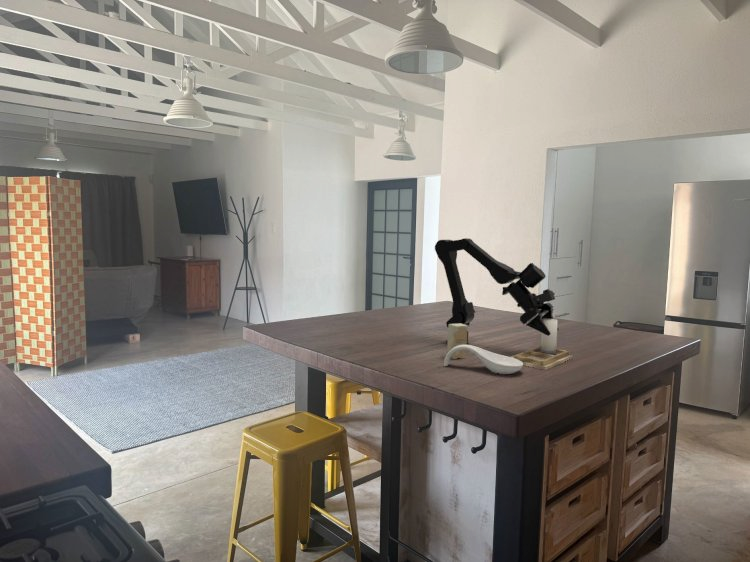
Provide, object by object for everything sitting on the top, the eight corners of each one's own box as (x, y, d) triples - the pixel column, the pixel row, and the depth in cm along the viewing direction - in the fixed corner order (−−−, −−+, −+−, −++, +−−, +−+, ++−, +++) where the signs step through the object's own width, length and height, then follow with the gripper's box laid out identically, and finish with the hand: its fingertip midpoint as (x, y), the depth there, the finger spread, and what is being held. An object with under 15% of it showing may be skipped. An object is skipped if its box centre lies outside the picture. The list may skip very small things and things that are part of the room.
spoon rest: (523, 369, 163) (525, 347, 163) (521, 379, 152) (522, 355, 152) (448, 361, 171) (449, 339, 170) (440, 370, 160) (441, 347, 159)
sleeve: (538, 355, 177) (540, 319, 176) (543, 352, 181) (545, 318, 180) (553, 357, 174) (555, 321, 173) (557, 354, 178) (559, 319, 177)
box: (453, 359, 173) (455, 326, 172) (446, 356, 177) (447, 323, 176) (466, 358, 175) (468, 325, 174) (459, 355, 179) (460, 322, 178)
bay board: (504, 361, 172) (504, 354, 172) (533, 351, 187) (533, 344, 187) (545, 370, 162) (546, 362, 162) (572, 358, 178) (572, 351, 178)
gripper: (531, 283, 170) (564, 321, 165) (549, 279, 185) (579, 314, 180) (506, 305, 175) (537, 342, 170) (525, 299, 190) (554, 334, 185)
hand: (553, 332), depth 176 cm, fingers open, 9 cm apart
